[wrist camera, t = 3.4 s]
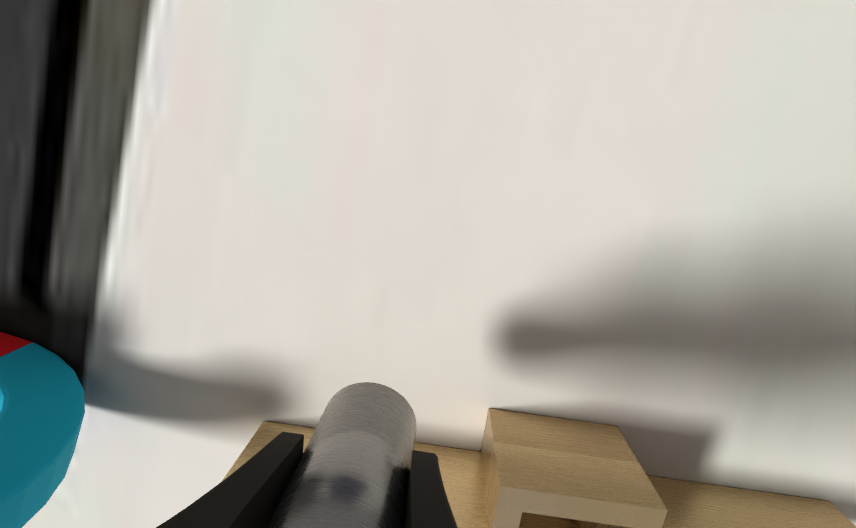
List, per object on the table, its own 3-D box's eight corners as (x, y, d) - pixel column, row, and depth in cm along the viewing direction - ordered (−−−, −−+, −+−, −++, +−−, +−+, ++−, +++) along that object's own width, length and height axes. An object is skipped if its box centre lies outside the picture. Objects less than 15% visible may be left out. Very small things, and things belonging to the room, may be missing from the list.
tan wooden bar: (802, 559, 22) (901, 674, 17) (262, 481, 23) (210, 572, 18) (847, 458, 20) (970, 553, 16) (264, 376, 21) (209, 444, 16)
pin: (411, 469, 14) (373, 759, 7) (321, 457, 14) (202, 732, 7) (421, 389, 13) (389, 628, 7) (326, 376, 13) (199, 601, 7)
